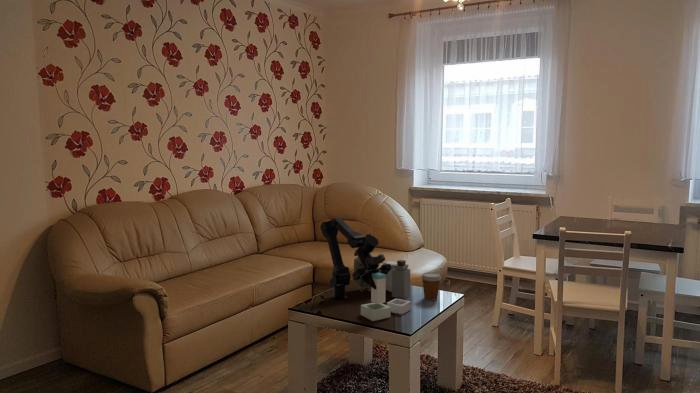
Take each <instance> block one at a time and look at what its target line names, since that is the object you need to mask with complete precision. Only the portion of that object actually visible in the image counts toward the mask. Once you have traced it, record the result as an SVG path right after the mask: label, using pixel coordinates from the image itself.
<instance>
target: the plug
mask: <svg viewBox="0 0 700 393" xmlns="http://www.w3.org/2000/svg"><path fill="white" fill-rule="evenodd" d="M371 275H372V279H373V281H374V283H375V285H376V289H374V288H372V287H371V288H370V292H371V293H370V295H371V297H370V302H371V303H376V304H380V303H382V304H384V303H386V291H387V290H386V275H385V274H383V273H380V272H379V273H374V274H371Z"/></svg>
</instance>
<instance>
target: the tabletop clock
mask: <svg viewBox="0 0 700 393" xmlns="http://www.w3.org/2000/svg"><path fill="white" fill-rule="evenodd" d="M360 264H361V262H360V260H359V258H358V256H356V257H355V258H354V260H353V273H354V272H355V271H356V269H359V268H363V266H360ZM377 268H379V266H378V267H377ZM373 274H374V273H373ZM361 279H362V277H361V276H360V279H359V280H355V281H354V282H355V283H356V285H358V286H360V287H361V288H360V289H359V290H360V292H361V293H363V292H364V288H366V289H371V286H370V285H368V284H367V283H365V282H364V281H361Z"/></svg>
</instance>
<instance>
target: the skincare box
mask: <svg viewBox="0 0 700 393" xmlns="http://www.w3.org/2000/svg"><path fill="white" fill-rule="evenodd" d="M383 264H390V265H391V267H392V269H391V270H390V271H389V272H388V274H386V291H388V292H391V293H392V270H393V269H395V267H394V265H396V264H397V261H394V260H390V261H383V263H382V265H383Z"/></svg>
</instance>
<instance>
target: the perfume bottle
mask: <svg viewBox="0 0 700 393" xmlns="http://www.w3.org/2000/svg"><path fill="white" fill-rule="evenodd" d="M406 261H407V260H404V259H398V260H397V261H396V262H397V264H396V265H394V267H395V269H393V270H392V292H391V297H393V298H397V299H402V300H405V299H406V298H408V297H409V296H411V268H409V264H406V263H407V262H406Z"/></svg>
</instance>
